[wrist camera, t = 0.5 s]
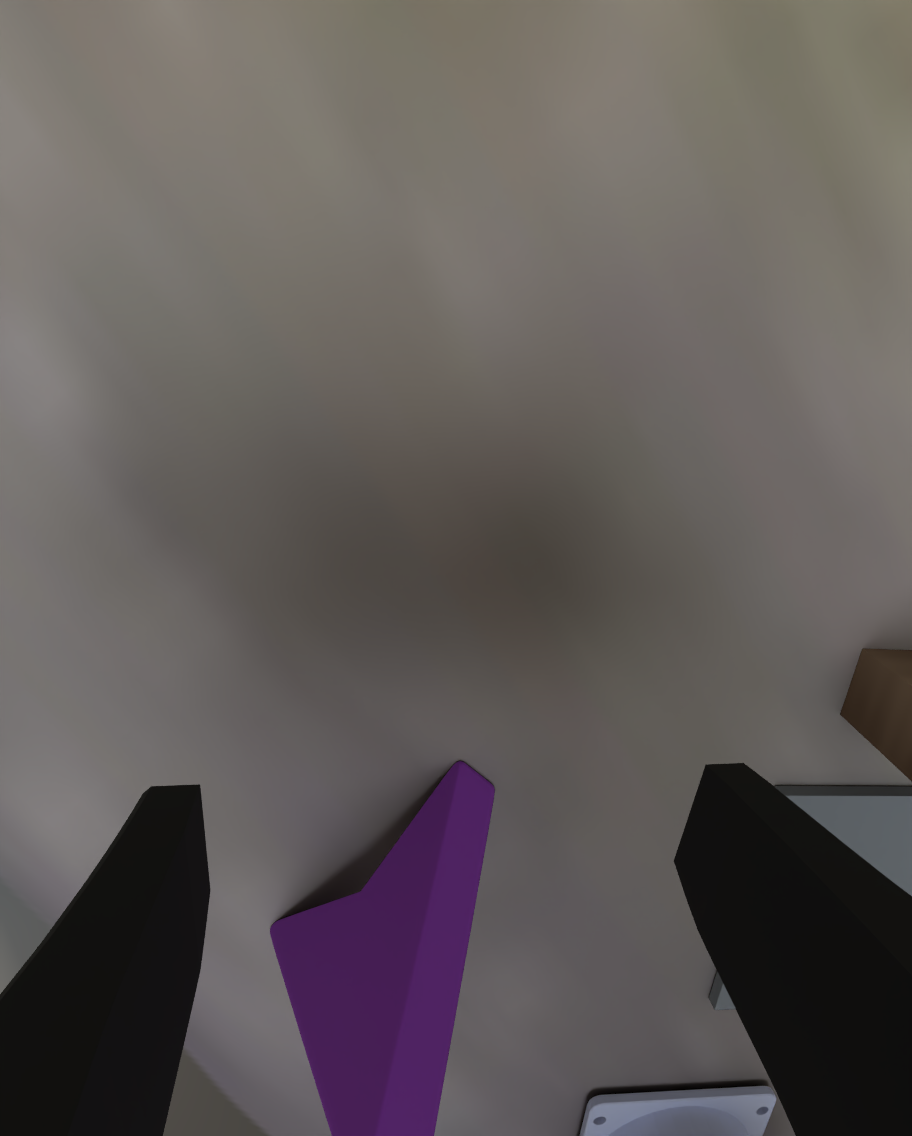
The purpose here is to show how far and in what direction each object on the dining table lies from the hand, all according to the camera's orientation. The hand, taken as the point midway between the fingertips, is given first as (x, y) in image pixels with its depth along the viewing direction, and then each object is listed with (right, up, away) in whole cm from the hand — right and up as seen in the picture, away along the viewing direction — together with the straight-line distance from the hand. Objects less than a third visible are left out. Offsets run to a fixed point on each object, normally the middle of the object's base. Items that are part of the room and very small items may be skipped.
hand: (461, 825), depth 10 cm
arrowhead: (-3, -6, +13) cm, 15 cm away
